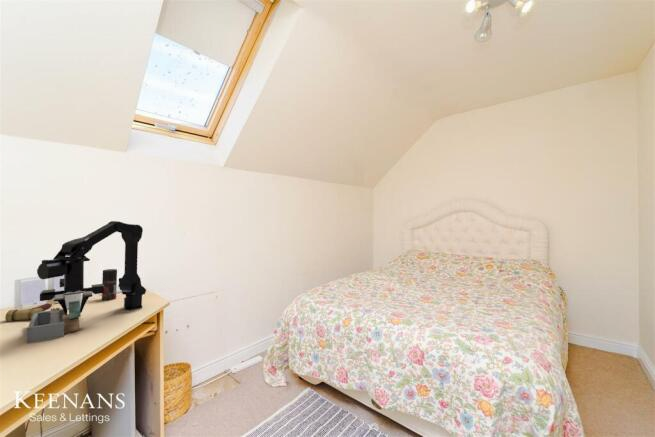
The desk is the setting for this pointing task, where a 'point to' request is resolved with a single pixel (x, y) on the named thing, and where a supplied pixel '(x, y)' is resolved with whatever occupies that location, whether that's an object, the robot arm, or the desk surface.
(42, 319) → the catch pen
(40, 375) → the desk surface
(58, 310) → the rook chess piece
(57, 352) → the desk surface
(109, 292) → the deodorant
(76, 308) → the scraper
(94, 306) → the desk surface
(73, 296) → the eye dropper bottle
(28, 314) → the gavel
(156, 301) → the desk surface
